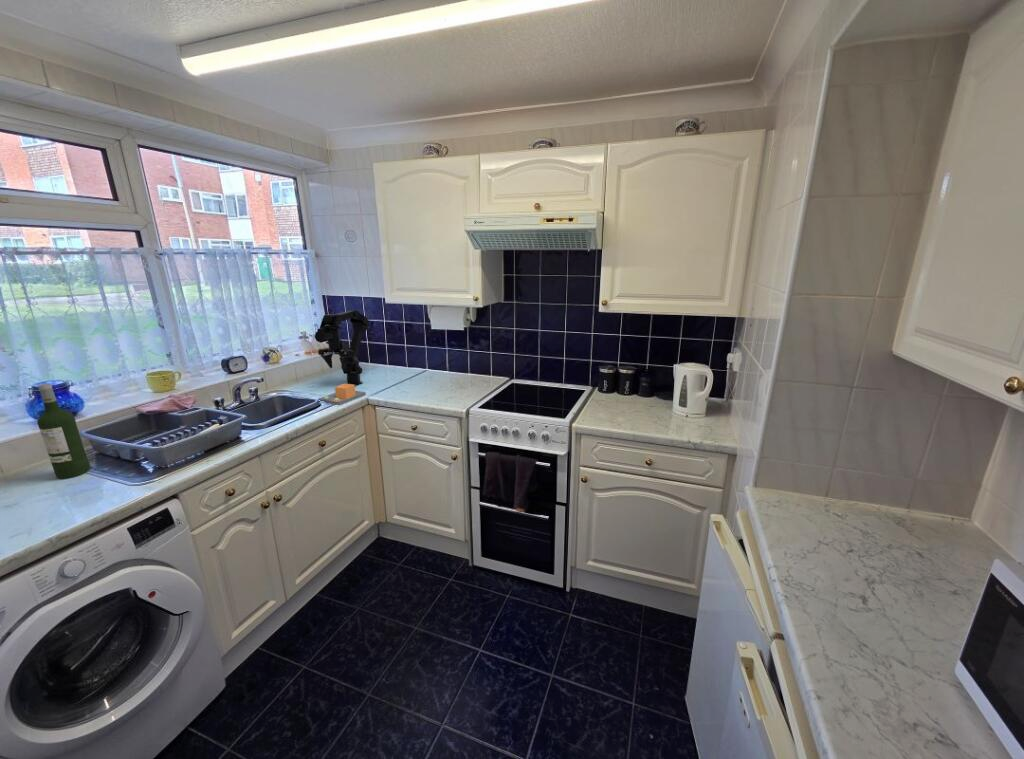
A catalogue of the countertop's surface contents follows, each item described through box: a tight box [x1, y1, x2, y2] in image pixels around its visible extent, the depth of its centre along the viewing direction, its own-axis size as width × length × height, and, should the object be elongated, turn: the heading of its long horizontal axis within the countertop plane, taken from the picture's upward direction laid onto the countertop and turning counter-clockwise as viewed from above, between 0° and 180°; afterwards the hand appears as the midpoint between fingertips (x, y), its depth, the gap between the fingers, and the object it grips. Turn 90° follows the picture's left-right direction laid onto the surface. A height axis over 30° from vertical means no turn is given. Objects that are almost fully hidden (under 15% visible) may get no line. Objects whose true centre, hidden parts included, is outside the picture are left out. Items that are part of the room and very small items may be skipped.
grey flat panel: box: [317, 390, 367, 406], centre depth 206 cm, size 17×14×2 cm
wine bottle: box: [36, 383, 91, 480], centre depth 130 cm, size 8×8×30 cm
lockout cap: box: [334, 383, 356, 399], centre depth 203 cm, size 6×6×6 cm
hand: (337, 368), depth 215 cm, fingers open, 9 cm apart
